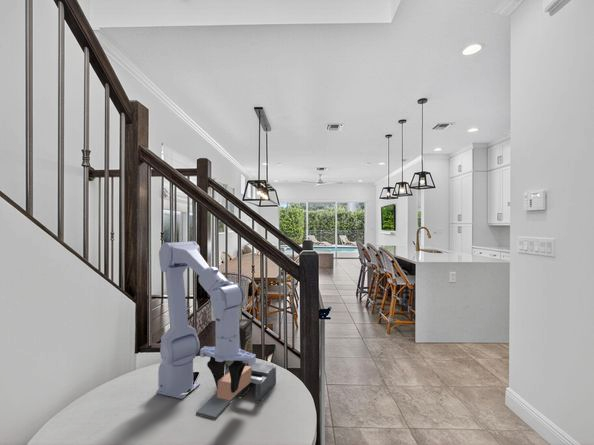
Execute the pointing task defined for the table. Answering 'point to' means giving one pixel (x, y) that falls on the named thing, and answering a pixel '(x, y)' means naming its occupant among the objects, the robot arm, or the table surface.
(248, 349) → the coffee box
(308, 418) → the table surface
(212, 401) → the pad
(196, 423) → the table surface
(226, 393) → the salmon rectangular block
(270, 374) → the dispenser
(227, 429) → the table surface
